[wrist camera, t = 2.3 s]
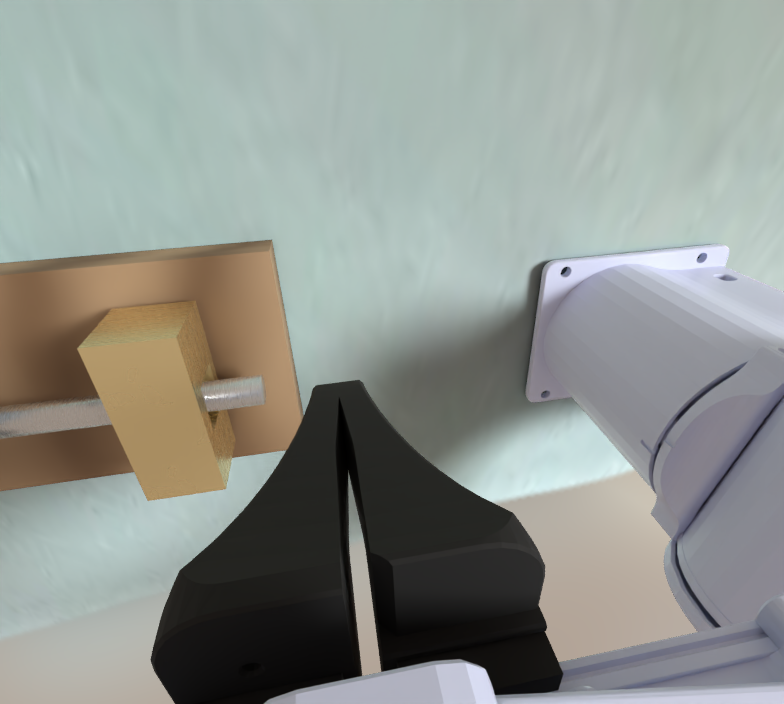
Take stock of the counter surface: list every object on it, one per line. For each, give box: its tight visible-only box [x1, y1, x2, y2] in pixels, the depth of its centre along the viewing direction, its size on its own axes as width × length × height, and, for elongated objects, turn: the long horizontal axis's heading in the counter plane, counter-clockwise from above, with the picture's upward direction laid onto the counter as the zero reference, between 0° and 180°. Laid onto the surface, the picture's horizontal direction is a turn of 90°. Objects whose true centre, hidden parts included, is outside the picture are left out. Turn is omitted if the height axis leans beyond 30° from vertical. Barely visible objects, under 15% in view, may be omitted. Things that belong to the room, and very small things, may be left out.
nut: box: [77, 301, 236, 501], centre depth 17 cm, size 3×7×3 cm, turn 3°
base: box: [0, 240, 304, 491], centre depth 18 cm, size 18×10×5 cm, turn 92°
